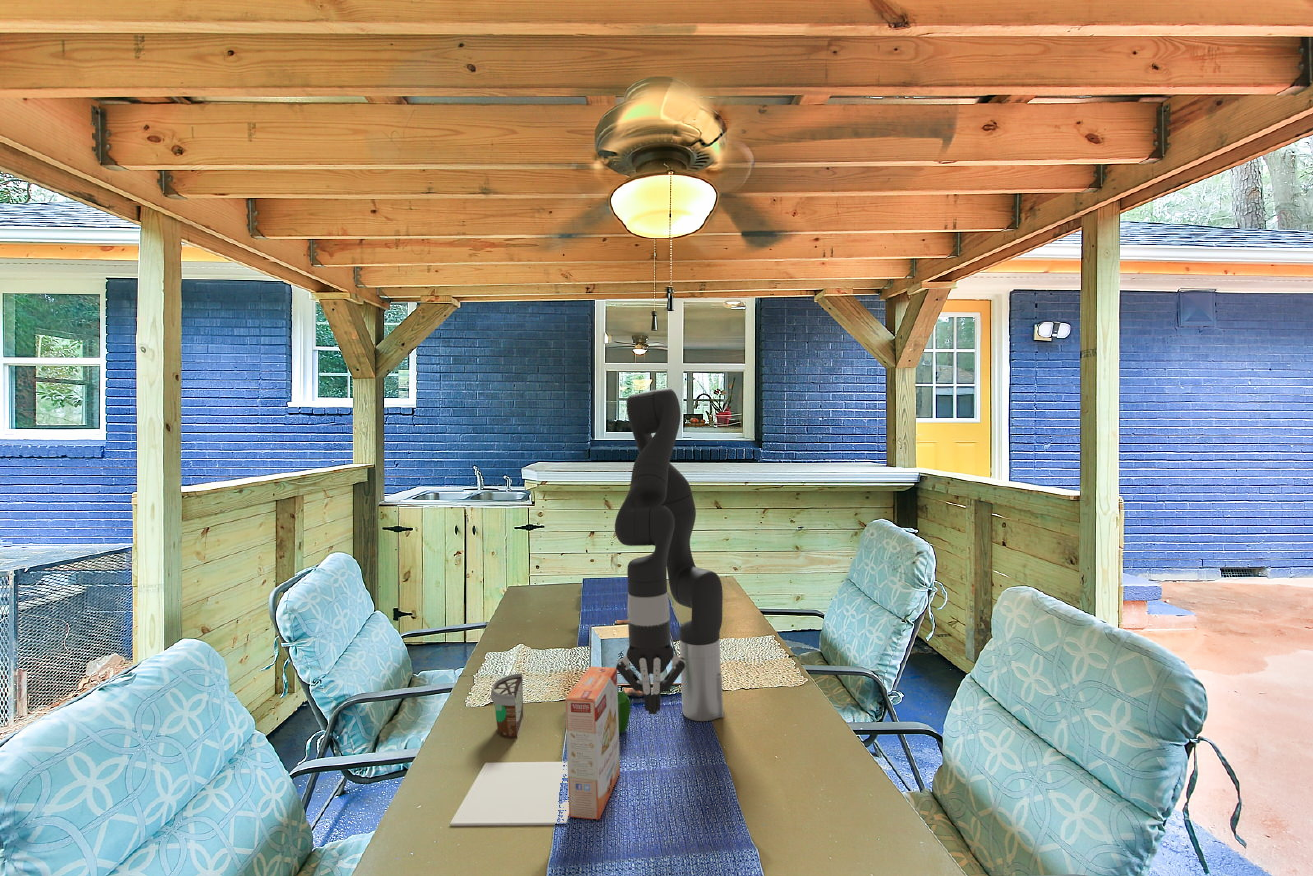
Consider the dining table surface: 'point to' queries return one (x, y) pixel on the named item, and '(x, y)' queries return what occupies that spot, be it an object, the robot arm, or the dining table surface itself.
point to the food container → (508, 705)
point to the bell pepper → (623, 711)
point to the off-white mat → (514, 795)
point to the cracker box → (592, 742)
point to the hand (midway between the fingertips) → (652, 712)
